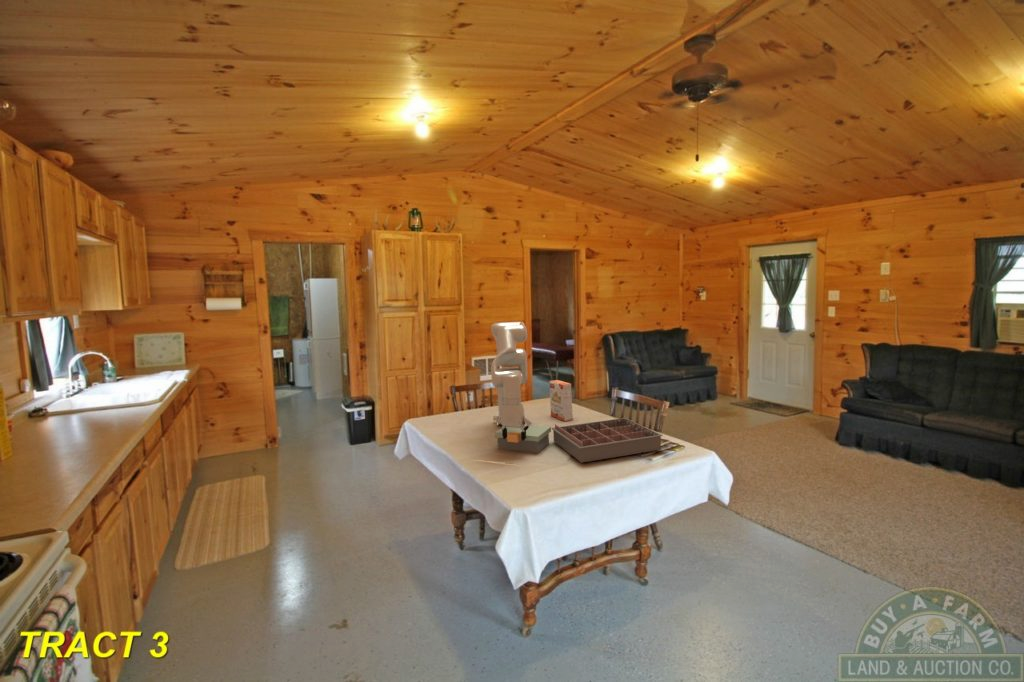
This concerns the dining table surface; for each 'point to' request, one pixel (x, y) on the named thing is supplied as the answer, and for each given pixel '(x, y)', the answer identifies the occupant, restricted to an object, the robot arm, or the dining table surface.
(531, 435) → the lid
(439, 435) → the dining table surface
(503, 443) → the tub
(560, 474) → the dining table surface
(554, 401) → the cracker box
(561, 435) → the organizer tray
